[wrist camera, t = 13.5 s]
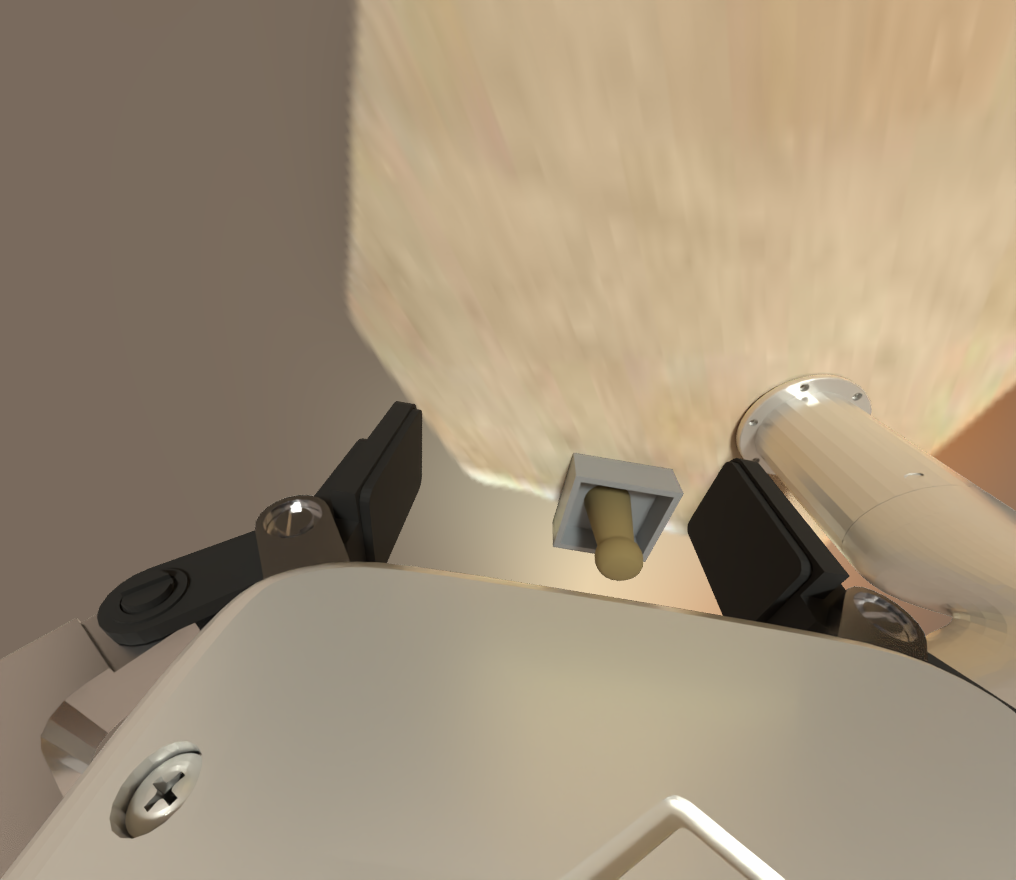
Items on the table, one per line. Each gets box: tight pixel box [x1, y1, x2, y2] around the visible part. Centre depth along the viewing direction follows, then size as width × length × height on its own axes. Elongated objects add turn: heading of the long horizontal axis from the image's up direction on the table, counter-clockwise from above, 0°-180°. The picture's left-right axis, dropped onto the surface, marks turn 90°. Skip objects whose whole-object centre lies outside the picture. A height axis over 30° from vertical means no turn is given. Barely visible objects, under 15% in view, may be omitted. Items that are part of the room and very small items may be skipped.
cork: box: [584, 485, 643, 581], centre depth 43 cm, size 6×6×11 cm
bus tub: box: [553, 453, 684, 562], centre depth 47 cm, size 13×13×4 cm
